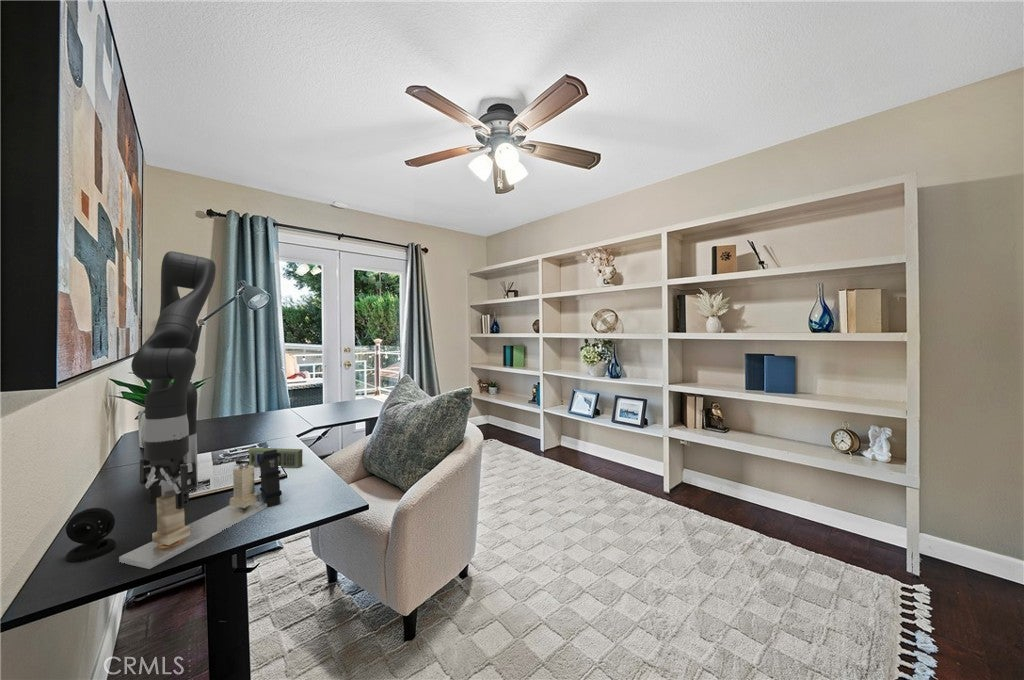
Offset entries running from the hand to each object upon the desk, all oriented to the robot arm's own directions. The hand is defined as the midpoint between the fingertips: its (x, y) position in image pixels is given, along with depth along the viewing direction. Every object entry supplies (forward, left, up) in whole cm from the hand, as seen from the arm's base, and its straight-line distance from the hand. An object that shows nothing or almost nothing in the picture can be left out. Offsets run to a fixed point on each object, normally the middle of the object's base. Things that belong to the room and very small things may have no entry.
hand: (168, 505), depth 86 cm
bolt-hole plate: (0, +7, -10) cm, 12 cm away
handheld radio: (-23, +47, -10) cm, 53 cm away
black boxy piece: (0, +26, -10) cm, 28 cm away
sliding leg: (0, 0, -8) cm, 8 cm away
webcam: (-15, -6, -10) cm, 19 cm away
